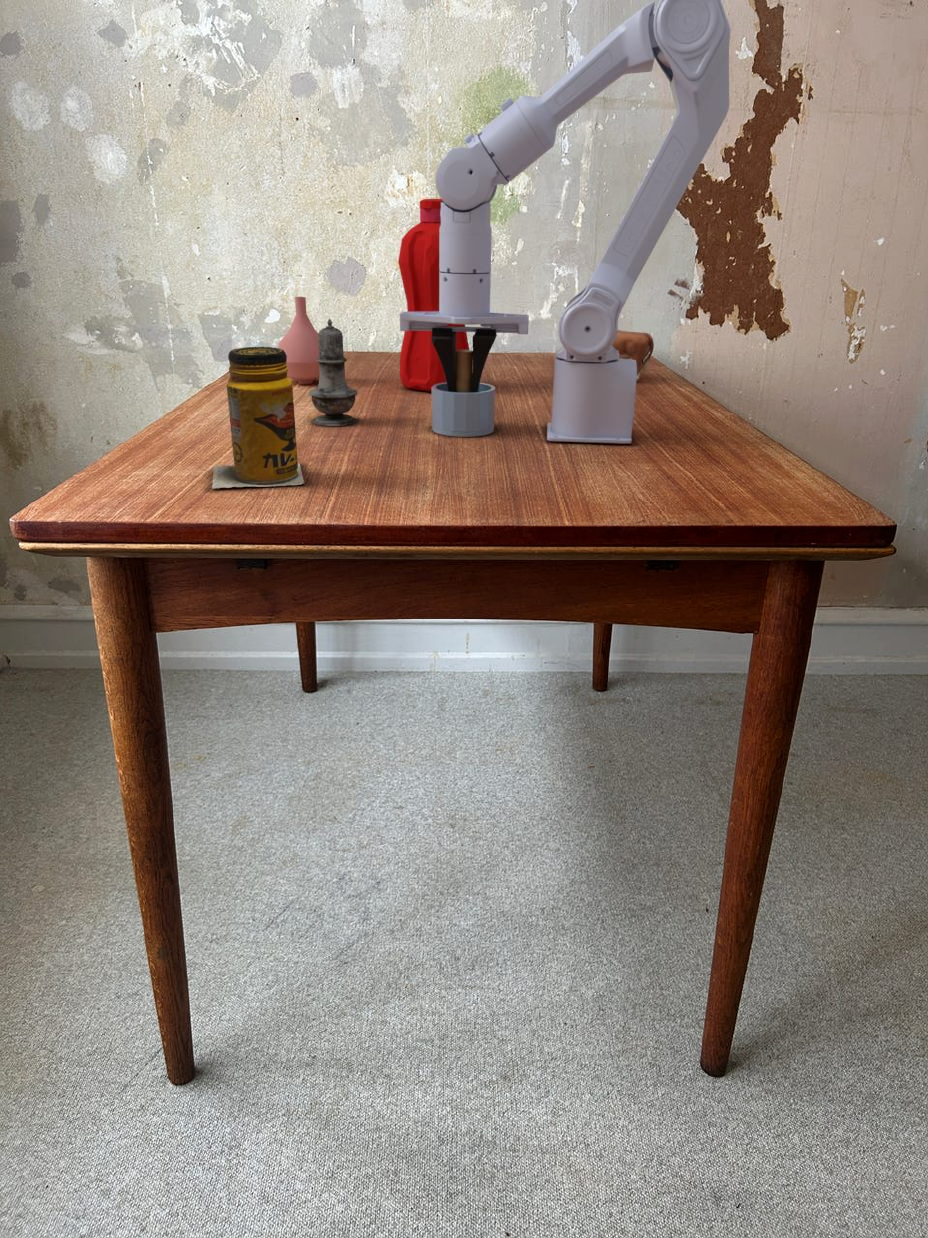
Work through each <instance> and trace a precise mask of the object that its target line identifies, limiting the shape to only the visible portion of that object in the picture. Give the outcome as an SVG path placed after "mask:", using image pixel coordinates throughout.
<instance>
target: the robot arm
mask: <svg viewBox="0 0 928 1238" xmlns="http://www.w3.org/2000/svg"><path fill="white" fill-rule="evenodd" d="M655 5H656V0H653V1H651V2H649V3H647V4H646V5H645V6H643V7H642V8H640V9H639V10H638V11H636V12H635V13H634V14H633V15H631V16H630V17H628V18H627V19H626V20H625V21H624V22H622V23H621V24H620V25H619V26H617V27H616V28H615V29H614V30H613V31H612V32H610V33H609V35H607V36H606V37H605V38H604V39H602V41H600V43H599V44H597V45H596V46H595V47H594V48H593V49H592V50H591V51H589V53H587V54H586V55H585V56H584V57H583V58H582V59H581V60H580V61H579V62H578V63H577V64H575V65H574V66H573V67H572V68H571V69H570V70H569V71H567V73H565V75H563V76H562V77H561V78H560V79H559V80H558V81H557V82H556V83H554V84H553V86H551V87H550V88H549V89H548V90H547V91H546V92H545V93H544V94H542V95H541V96H531V95H525V94H524V95H521V96H519V97H518V98H517V99H516V100H515V101H513V99H512V98H511V97H508V98H507V99H506V100H505V101H503V102H502V103H501V104H500V106H499V107H500V109H501V111H502V112H501V113H500V114H499V115H497V116H496V117H495V118H494V119H492V120H491V121H490V122H489V123H488V124H486V126H485V127H483V128H482V129H481V130H479V132H477V133H476V134H475V135H474V134H473V133H471V132H469V134H468V135H466V136H465V137H464V138H463V142H464V143H465V144H466V146H457V147H453V148H451V149H449V150H448V151H447V153H446V155H445V156H444V157H443V158H442V160H441V161H440V162H439V164H438V167H437V169H436V172H435V188H436V190H437V194H438V195H439V197H440V199H442V200H443V201H444V202H441V211H440V216H441V226H440V229H439V233H440V234H439V271H440V272H439V311H432V312H407V311H402V312H399V331H400V332H405V331H410V330H417V331H432V337H431V340H432V343H433V346H434V348H435V350H436V352H437V354H438V357H439V359H440V362H441V364H442V367H443V370H444V374H445V378H446V382H447V387H448V392H455V351H456V335H457V332H466V333H474V334H473V335H472V351H473V371H472V384H471V392H478V391H479V384H480V383H481V379H482V375H483V371H484V369H485V366H486V365H485V364H486V362H487V359H488V356H489V354H490V352H491V349H492V347H493V345H494V342H495V341H496V338H497V335H498V334H518V335H528V334H529V325H530V324H529V323H530V322H529V321H530V315H529V314H522V313H521V314H520V313H519V314H518V313H501V312H491V285H492V284H491V281H492V279H491V278H492V272H491V271H492V235H493V229H492V228H493V227H492V225H491V215H492V213H491V210H492V209H491V208H492V204H491V202H492V201H493V199H494V197H495V195H496V193H497V189H498V186H499V185H503V186H506V185H508V184H509V183H511V182H512V181H513V180H514V179H516V178H517V177H518V176H519V175H520V174H522V173H523V172H524V171H525V170H527V169H528V168H529V167H530V166H531V165H532V164H534V163H535V162H536V161H537V160H539V159H540V158H541V157H542V156H544V155H545V154H546V153H547V152H549V151H550V150H551V149H552V148H553V147H554V146H555V143H556V139H557V138H556V137H557V131H558V127H559V125H560V124H562V123H563V122H564V121H565V120H567V119H568V118H569V117H570V116H572V115H573V114H574V113H576V112H577V111H579V110H580V109H581V108H583V107H584V106H585V105H586V104H587V103H589V102H590V101H591V100H592V99H594V98H595V97H596V96H598V95H599V94H600V93H602V92H603V91H605V90H606V89H607V88H608V87H609V86H611V85H612V84H613V83H615V82H616V81H617V80H618V79H620V78H621V77H623V76H624V75H629V74H641V73H651V72H652V71H653V68H654V63H655V61H656V62H657V64H658V65H659V67H660V69H661V71H662V72H663V73H664V75H665V77H666V78H667V79H668V82H669V88H670V90H671V94H672V99H673V102H674V105H675V109H676V115H675V117H674V118H673V121H672V122H671V125H670V127H669V128H668V131H667V132H666V134H665V136H664V138H663V140H662V142H661V144H660V145H659V148H658V150H657V151H656V153H655V155H654V157H653V159H652V161H651V163H650V165H649V167H648V168H647V171H646V172H645V174H644V176H643V179H642V180H641V182H640V184H639V185H638V188H637V190H636V192H635V193H634V196H633V197H632V199H631V201H630V203H629V205H628V207H627V208H626V210H625V212H624V214H623V216H622V218H621V220H620V222H619V224H618V226H617V228H616V230H615V231H614V233H613V235H612V237H611V239H610V241H609V243H608V245H607V247H606V249H605V250H604V252H603V254H602V256H601V258H600V260H599V262H598V264H597V266H596V268H595V269H594V271H593V273H592V274H591V278H590V279H589V281H588V282H587V284H586V286H585V287H584V288H583V290H581V291H580V292H579V293H577V294H576V295H575V296H573V297H572V298H571V299H570V300H569V301H568V302H567V305H566V307H564V311H563V312H562V313H561V316H560V318H559V321H558V327H557V329H558V331H557V333H558V339H559V341H560V343H561V345H562V347H561V348H559V349H557V350H555V352H554V362H553V363H554V365H553V385H552V400H551V402H552V403H551V418H550V419H551V420H550V422H547V425H546V426H547V427H546V441H548V442H563V443H564V442H565V443H570V442H571V443H590V444H591V443H593V444H594V443H595V444H596V443H597V444H625V445H630V444H632V442H633V441H632V440H633V439H632V436H633V435H632V434H633V426H634V425H635V416H636V415H635V414H636V411H635V402H636V392H637V381H638V380H637V364H636V360H632V358H630V359H620V358H619V351H618V350H615V348H614V347H613V346H612V345H613V343H614V341H615V339H616V336H617V330H619V329H618V328H619V317H620V314H621V312H622V310H623V308H624V306H625V304H626V302H627V300H628V298H629V296H630V294H631V293H632V290H633V288H634V286H635V284H636V282H637V280H638V278H639V276H640V274H641V273H642V270H643V269H644V267H645V265H646V264H647V261H648V260H649V257H650V256H651V254H652V252H653V251H654V249H655V247H656V245H657V243H658V241H659V239H660V238H661V236H662V234H663V232H664V230H665V229H666V227H667V226H668V223H669V221H670V219H672V216H673V214H674V212H675V211H676V209H677V207H678V205H679V203H680V201H681V199H682V198H683V196H684V194H685V192H686V191H687V188H688V187H689V185H690V183H691V181H692V179H693V178H694V176H695V174H696V172H697V170H698V169H699V167H700V165H701V163H702V161H703V159H704V158H705V156H706V154H707V153H708V150H709V149H710V147H711V145H712V143H713V141H714V140H715V138H716V136H717V134H718V132H719V130H720V128H721V127H722V125H723V123H724V121H725V119H726V117H727V115H728V112H729V109H730V43H731V26H730V22H729V20H728V17H727V14H726V11H725V8H724V6H723V2H722V0H659V2H658V4H657V5H656V8H655ZM654 11H655V12H654ZM447 324H460V325H465V327H460V326H447ZM466 325H467V326H466ZM468 325H469V326H468ZM471 325H472V326H471ZM473 325H480V326H473ZM636 380H637V381H636Z"/></svg>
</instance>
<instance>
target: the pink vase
mask: <svg viewBox="0 0 928 1238" xmlns="http://www.w3.org/2000/svg"><path fill="white" fill-rule="evenodd" d="M294 305H295V315H294V318H293V320H292V323H291V325H290V327H289V330H288V331H287V332H286V333H285V334H284V335H283V337H282V338H281V340H280V341H279V342H278V346H277V348H279V349H282V350H284V352H285V353H286V355H287V362H286V363H287V368H288V372H287V376H288V377H289V379H292V380H295V381H296V382H297V384H300V385H310V384H313V383H314V380H317V379H320V371H319V363H318V362H317V361H316V359H318V358H319V341H318V334H319V332H318V330H316V329H315V327H314V325H313V324H312V321H311V319H310V317H309V316H308V315H307V314H308V313H307V297H306V296H295V297H294Z"/></svg>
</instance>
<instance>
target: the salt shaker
mask: <svg viewBox="0 0 928 1238" xmlns="http://www.w3.org/2000/svg"><path fill="white" fill-rule="evenodd" d="M326 324H327V325H326V326H325V327H324V328H321V329H320V330H319V332H318V333H319V334H318V341H319V358H318V359H316V361H317V362H318V363H319V371H320V377H319V378H318V379H319V380H318V384H317V386H316V387H315V388H314V389H310V391H308V395H309V396H311V403H312V405H313V406H314V408H315V409H316V410H317V411H318V412H319V413H322V414H321V415H320V414H319V415H317V416H316V417H315V418H314V419H313V420H312V423H313V424H314V425H317V426H321V427H346V426H350V425H354V424H356V423H357V419H356V418H355V417H353V416H352V415H349V414H345V413H349V412H350V411H351V409H352V408H353V407H354V405H355V402H356V396H357V395H358V393H359V392H358V390H356V389H355V388H351V387H350V386H349V385H348V383H347V378H346V365H345V363H346V362H347V361H348V359H347V358H346V357H345V355H344V337H343V332H342V331H341V330H340V329H339V328H337V327H335V326H333V321H332V320H331V318H328V320H327V322H326Z"/></svg>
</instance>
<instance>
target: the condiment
mask: <svg viewBox="0 0 928 1238" xmlns="http://www.w3.org/2000/svg"><path fill="white" fill-rule="evenodd" d="M227 358H228V359H227V360H228V364H229V367H228V373H229V375H230V376H229V378H228V381H227V383H226V393H227V394H226V395H227V403H228V404H227V405H228V406H227V407H228V413H229V424H230V434H231V435H230V436H231V437H230V438H231V448H232V456H233V464H234V465H213V472H212V473H213V475H212V485H211V489H221V488H224V489H225V488H226V489H229V488H244V487H250V488H251V487H253V488H255V487H258V488H260V487H262V488H263V487H265V488H266V487H287V486H299V485H303V484H305V480H304V477H303V472H302V468H301V462H298V459H299V458H298V445H297V444H298V443H297V431H296V417H295V404H294V402H295V401H294V388H293V386H294V385H293V382H292V380H291V378H289V377H288V376H287V372H288V368H287V363H286V362H287V355H286V353H285V352H284V350H282V349H279V348H278V347H273V346H272V347H271V346H246V347H238V348H233V349H231V350H230V351H229V352H228V356H227Z"/></svg>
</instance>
